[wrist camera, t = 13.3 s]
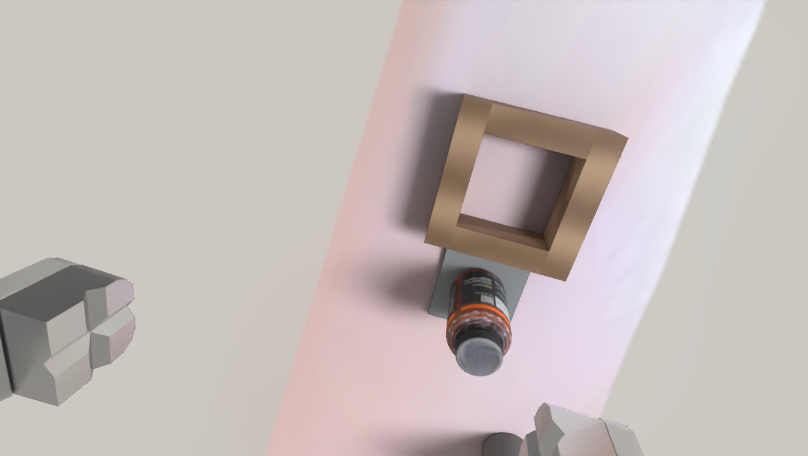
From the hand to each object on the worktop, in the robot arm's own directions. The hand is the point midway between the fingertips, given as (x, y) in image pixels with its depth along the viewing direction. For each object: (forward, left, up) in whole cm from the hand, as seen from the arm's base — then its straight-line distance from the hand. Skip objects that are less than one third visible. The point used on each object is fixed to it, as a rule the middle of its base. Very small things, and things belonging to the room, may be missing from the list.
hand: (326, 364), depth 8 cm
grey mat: (+17, +8, -35) cm, 40 cm away
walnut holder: (+4, +8, -35) cm, 36 cm away
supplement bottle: (+16, +8, -35) cm, 39 cm away
